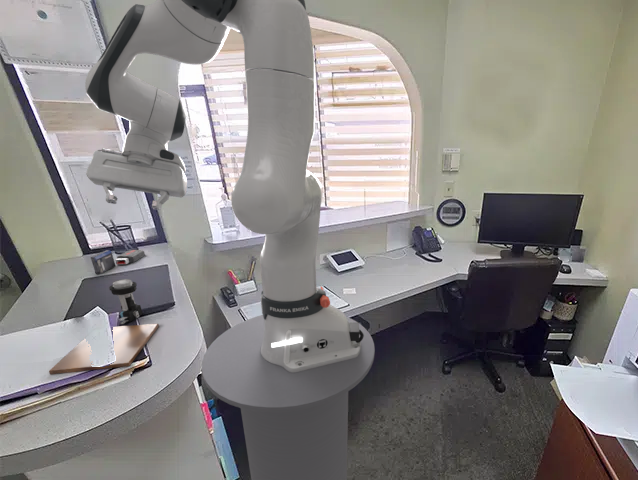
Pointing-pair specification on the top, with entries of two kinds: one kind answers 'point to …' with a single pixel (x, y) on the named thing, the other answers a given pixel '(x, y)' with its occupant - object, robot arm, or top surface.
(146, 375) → the top surface
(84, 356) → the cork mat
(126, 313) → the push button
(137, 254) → the usb drive
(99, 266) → the mini dv tape
